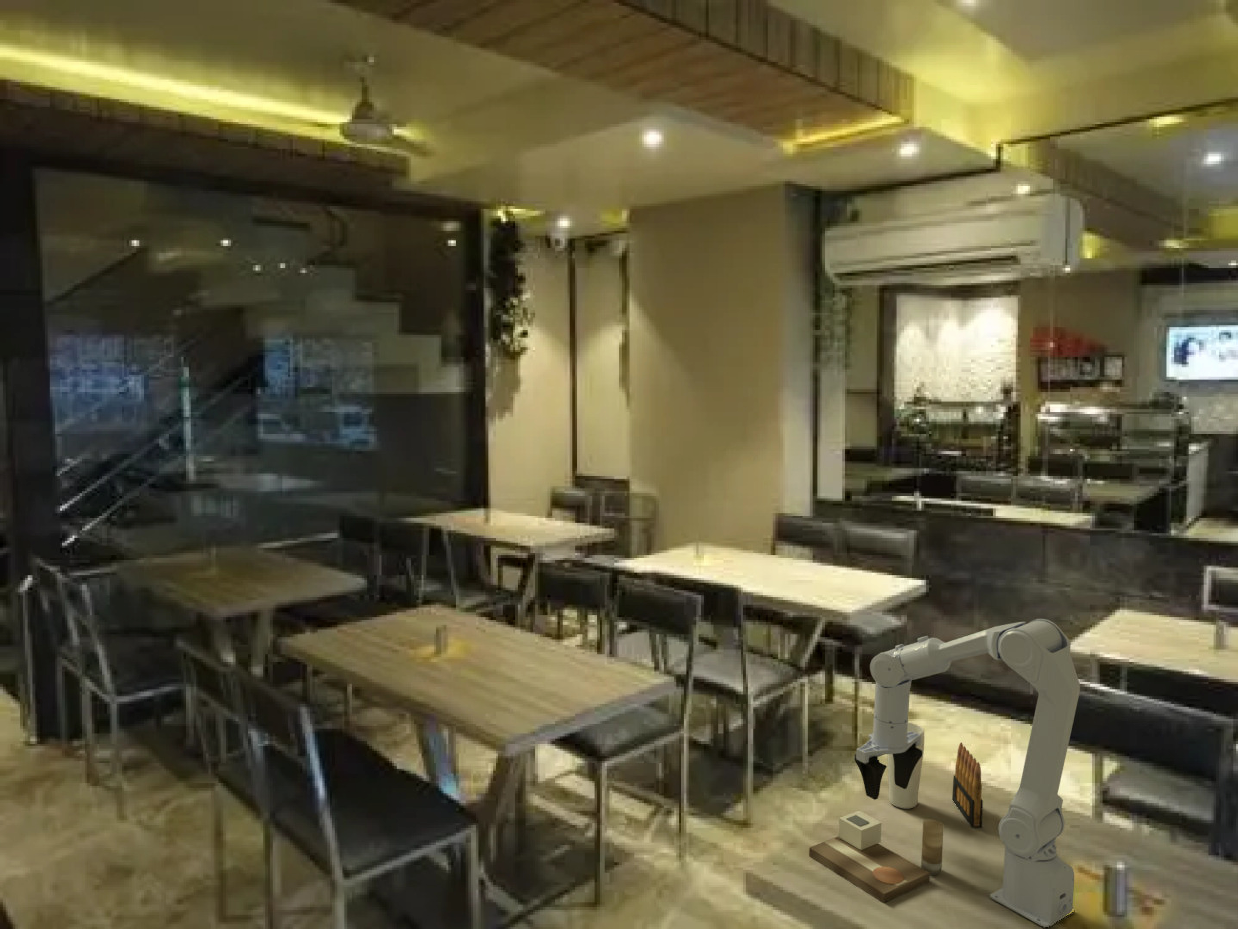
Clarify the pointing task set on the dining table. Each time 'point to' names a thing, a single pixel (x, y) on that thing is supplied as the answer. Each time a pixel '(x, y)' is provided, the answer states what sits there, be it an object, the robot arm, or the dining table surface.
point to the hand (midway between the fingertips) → (886, 791)
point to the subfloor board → (870, 868)
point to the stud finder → (860, 830)
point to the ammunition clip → (968, 787)
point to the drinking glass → (910, 794)
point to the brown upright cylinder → (932, 847)
